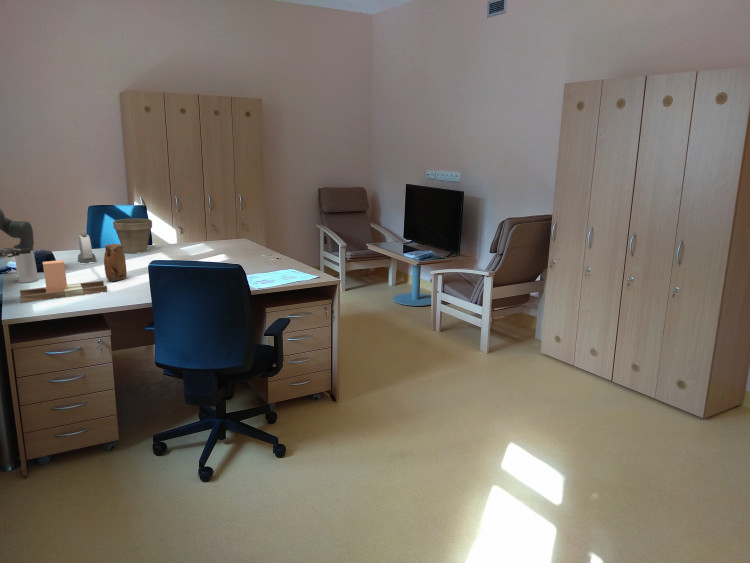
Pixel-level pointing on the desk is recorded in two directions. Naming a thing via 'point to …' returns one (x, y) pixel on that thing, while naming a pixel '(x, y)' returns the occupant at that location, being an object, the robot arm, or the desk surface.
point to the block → (114, 262)
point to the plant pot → (133, 234)
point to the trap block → (55, 275)
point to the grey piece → (85, 250)
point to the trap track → (62, 291)
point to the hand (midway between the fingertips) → (30, 250)
